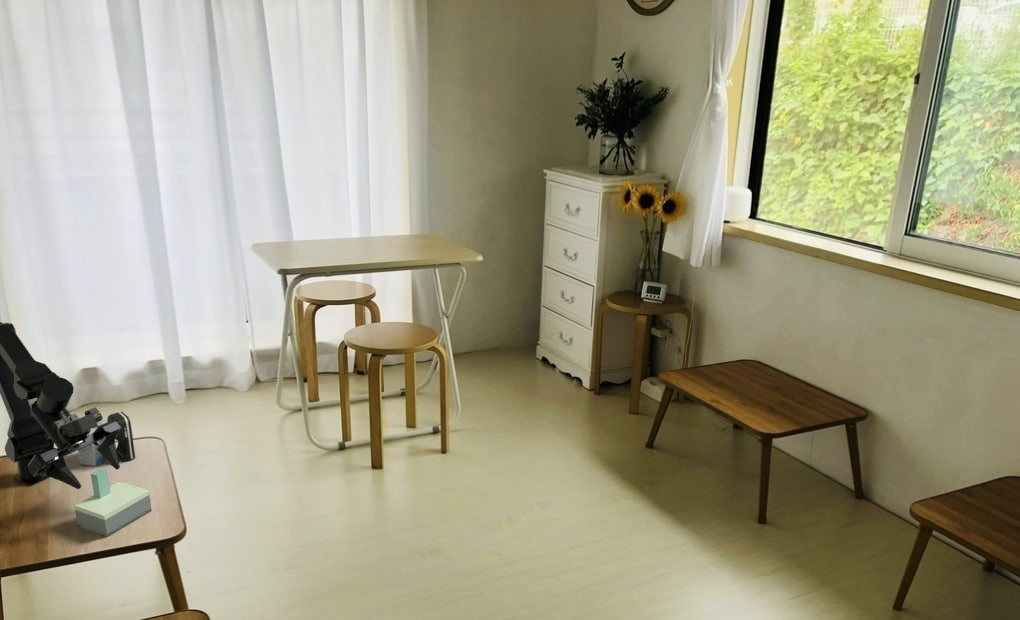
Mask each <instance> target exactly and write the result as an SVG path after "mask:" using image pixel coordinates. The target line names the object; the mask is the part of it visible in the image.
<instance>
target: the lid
mask: <svg viewBox="0 0 1020 620" xmlns="http://www.w3.org/2000/svg"><path fill="white" fill-rule="evenodd" d="M90 478H91V483H92V484H91V485H92V490H93V495H91V496H90V497H88V498H86V499H84V500H82V501H80V502H78V503H77V504H74V505H73V507H74V511H75V510H77V511H80V512H83V513H86V514H89V515H92V516H94V517H97V518H100V519H103V520H106V519H108V518H110V517H111V516H113V515H115V514H117V513H118V512H120V511H122V510H124V509H125V508H127V507H129V506H131V505H132V504H134V503H136V502H138V501H139V500H141V499H143V498H145V497H146V496H148V495H150V491H149V490H148V489H145V488H141V487H138V486H135V485H133V484H129V483H126V482H123V481H118V482H116V483H114V484H112V485H110V481H109V474H108V470H106V469H103V468H99V469H97V470H95V471H92V472H90Z"/></svg>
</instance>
